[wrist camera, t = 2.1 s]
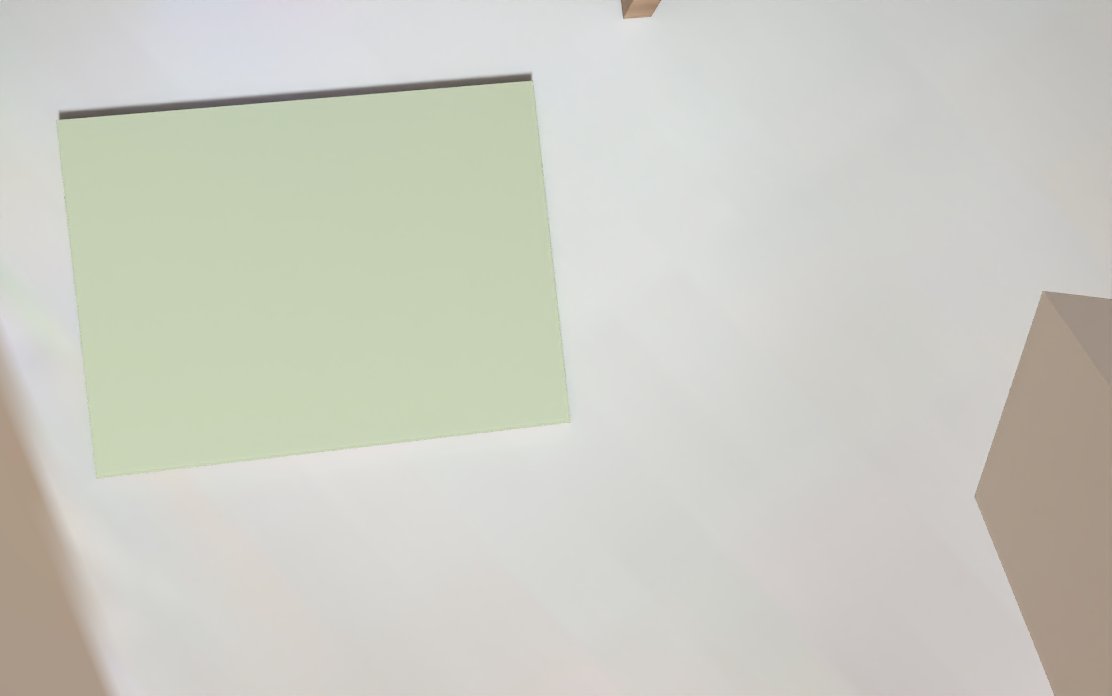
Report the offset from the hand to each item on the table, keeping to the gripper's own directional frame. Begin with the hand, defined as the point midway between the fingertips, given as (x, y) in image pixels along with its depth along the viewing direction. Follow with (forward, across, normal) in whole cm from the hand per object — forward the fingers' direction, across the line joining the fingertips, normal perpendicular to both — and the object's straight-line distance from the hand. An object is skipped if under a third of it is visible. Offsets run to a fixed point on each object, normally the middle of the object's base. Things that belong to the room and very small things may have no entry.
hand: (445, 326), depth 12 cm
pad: (+22, -8, -10) cm, 25 cm away
